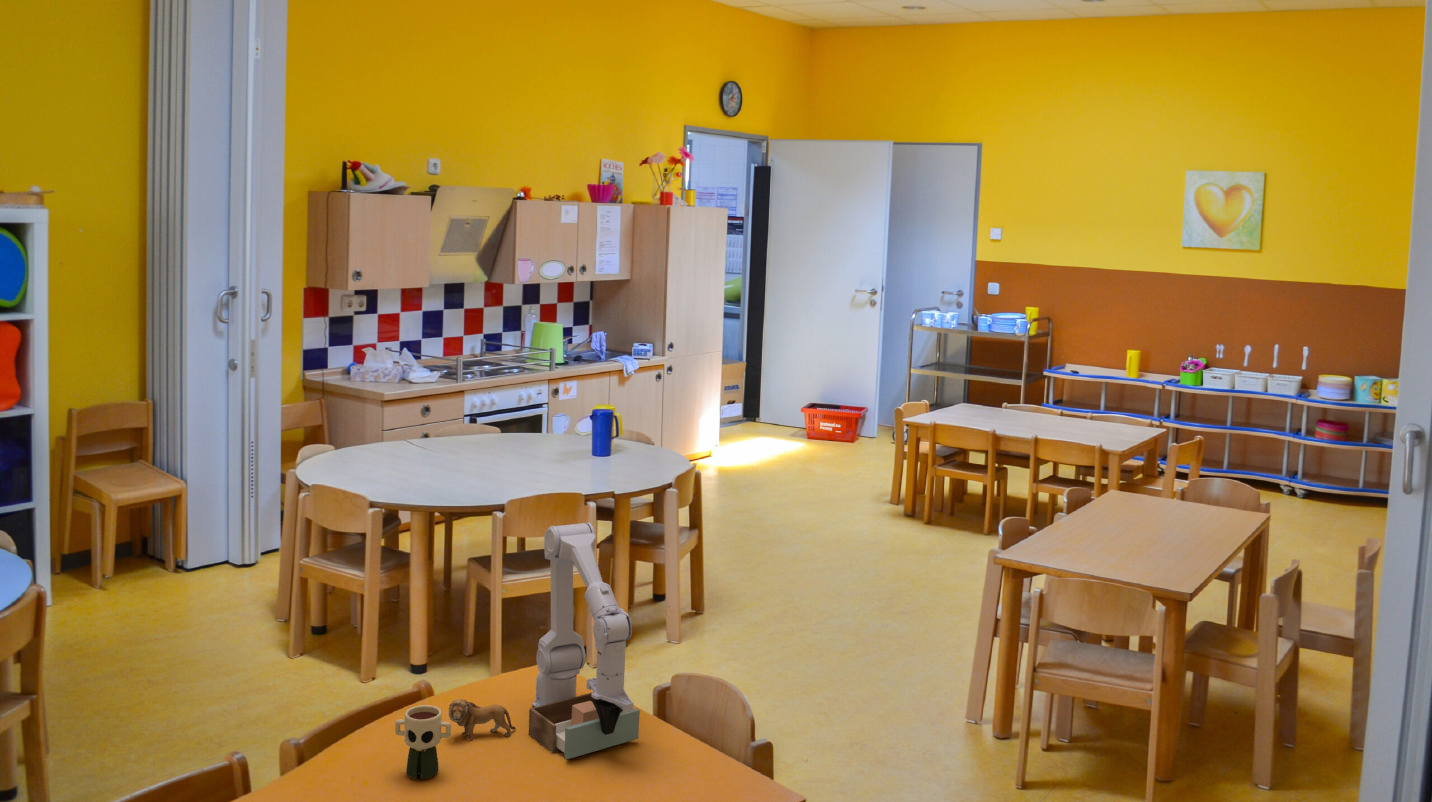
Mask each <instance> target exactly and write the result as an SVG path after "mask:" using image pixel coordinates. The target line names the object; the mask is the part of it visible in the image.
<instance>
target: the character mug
mask: <svg viewBox="0 0 1432 802" xmlns="http://www.w3.org/2000/svg"><path fill="white" fill-rule="evenodd" d="M442 712H443V711H442V709H441V708H440V707H438V706H435V705H430V704H421V705H420V704H419V705H416V706H412V707H410V708H408V709H407V710H406V711H405V714H404V719H401V718H400V719H396V720H395V726H394V728H395V729H394V731H395V732H394V734H395V735H397V736H403V737H404V742H405V745H406V746H407V747H409V750H408V755H407V756H408V757H407V762H406V776H408V777H409V778H412V779H415V780H416V779H417V775H420V779H421V780H425V779H429V778H432V777H434V776H436V775H437V774H438V773H439V759H438V750H437V747H436V746H438V744H439V743H441V740H442V739H443V738H444V739H445V738H446V739H448V738H451V735H452V731H451V730H452V724H451V722H449V721H442ZM401 725H404V730H401ZM442 727H445V732H442Z"/></svg>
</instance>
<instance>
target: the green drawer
mask: <svg viewBox="0 0 1432 802" xmlns="http://www.w3.org/2000/svg"><path fill="white" fill-rule="evenodd" d="M640 712H641V711H640V709H638V708H633V712H629V713H624V712H621V713H620V715H619V717H618V720H617V723H616V726H615V729H614V732H613V733H611V734H608V735H605V734H603V733H602V729H601V725H600V720H599V719H595V720H591V721H588V722H584V723H580V724H577V725H573V726H571V724H572V720H568V721H564V722H561V723H557V724H555V725H556V747H557V748H558V749H560V750H561V751H560V752H562V753H563V754H564V758H565V759H567V760H569V759H573V758H577V757H579V756H582V755H586V754H590V753H594V752H596V751H600V750H604V749H606V748H607V749H608V748H610V747H611V748H612V747H613V746H614V747H615V746H616V745H617V746H618V745H620V744H624V743H628V742H631V741H635V740H638V739H639V735H640V734H639V730H640V729H639V728H640Z"/></svg>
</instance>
